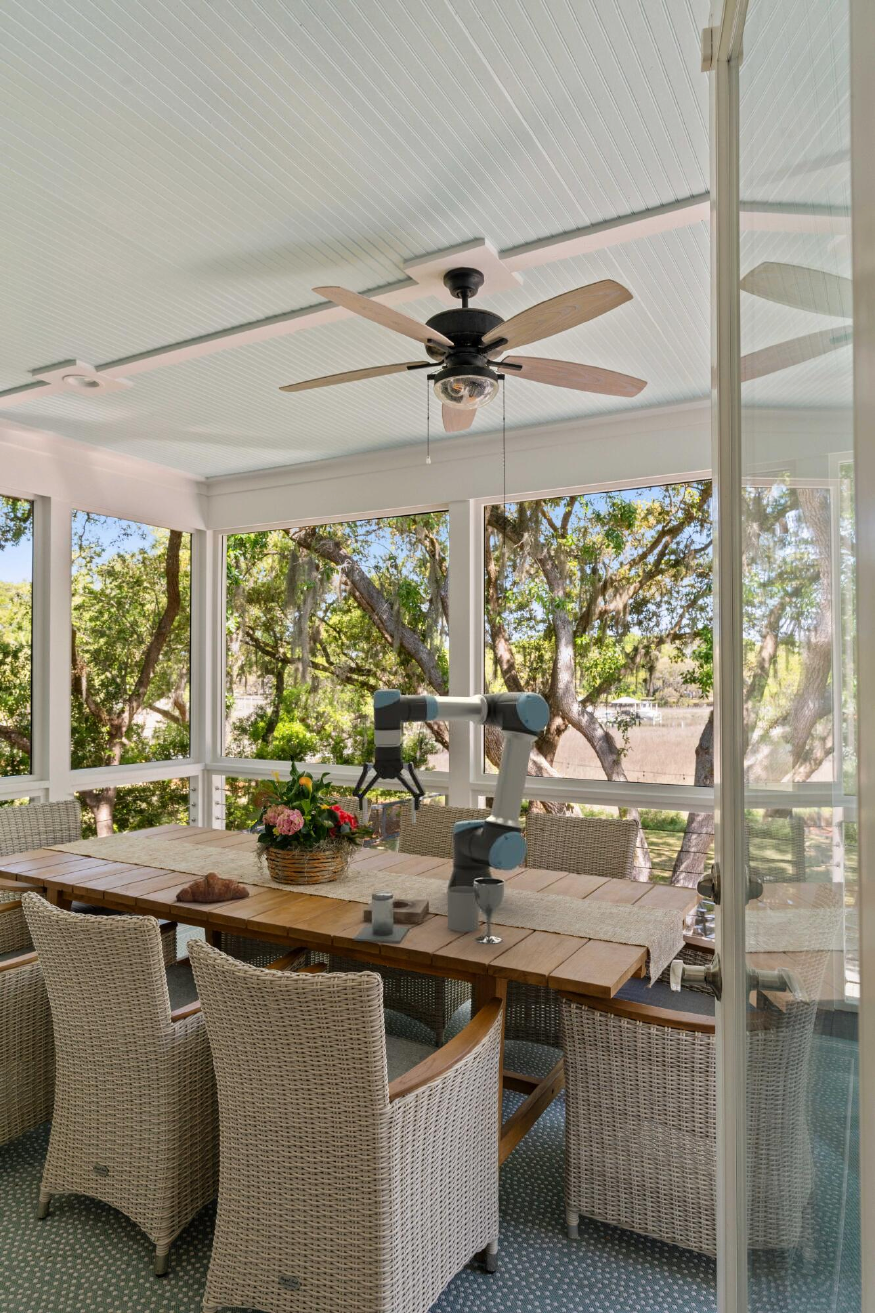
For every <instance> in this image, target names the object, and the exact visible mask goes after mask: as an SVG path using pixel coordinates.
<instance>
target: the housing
mask: <svg viewBox="0 0 875 1313" xmlns="http://www.w3.org/2000/svg"><path fill="white" fill-rule="evenodd" d="M429 910H430V900H429V899H419V898H418V899H415V898H414V899H411V898H394V897H393V923H395V924H396V923H399V924H416V925H418V924H419V925H420V924H421V923H422V922H423V920H424V919H425V917H426V915H427V914H428V912H429ZM363 921H364V922H372V901H371V902H369V904H367V906H366V907H365V908H364V909H363Z"/></svg>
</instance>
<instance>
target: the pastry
mask: <svg viewBox="0 0 875 1313" xmlns="http://www.w3.org/2000/svg"><path fill="white" fill-rule="evenodd" d="M249 896H250V892H249V890H248V888H247V887H246V886H241V885H239V883H238V882H236V881H235V880H233V879H232V878H226V879H221V877H219V876H218V874H217V873H215V872H213V871H211V872H209V873H206V875H205V876H204V878H203V879H202V880H195V881H193V882H192V883H190V884H189V885H188V886H187V887H183V888H182V889H180V891H179V892H178V893H176V896H175V899H176V901H177V902H183V903H184V902H185V903H199V904H201V903H202V904H214V903H224V902H228V901H231V900H232V901H233V900H240V899H244V898H246V897H249Z"/></svg>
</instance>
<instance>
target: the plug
mask: <svg viewBox="0 0 875 1313" xmlns="http://www.w3.org/2000/svg"><path fill="white" fill-rule="evenodd" d="M393 898H394V894H393V892H392V891H383V890H380V891H374V892H372V893H371V902H372V921H371V925H372V934H374V935H378V936H386V935H390V934H393V932H394V928H393V927H394V922H393Z"/></svg>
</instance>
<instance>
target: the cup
mask: <svg viewBox="0 0 875 1313" xmlns="http://www.w3.org/2000/svg"><path fill="white" fill-rule="evenodd" d="M479 910H480V907H479V906H478V904H477V903H476V900H475V895H474V887H467V886H459V887H452V888H449V889H448V894H447V928H448V929H449V930H451V931H453V932H459V933H461V932H462V933H463V932H465V933H467V932H468V933H469V932H474V931H477V930H479V927H480V925H479V924H480V918H479V917H480V916H479V914H480V912H479Z"/></svg>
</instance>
